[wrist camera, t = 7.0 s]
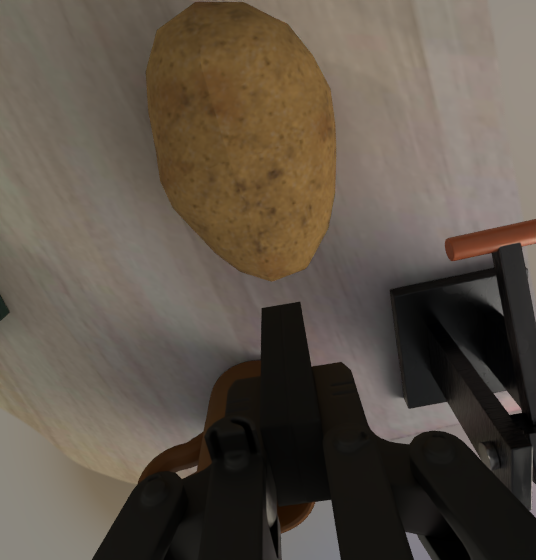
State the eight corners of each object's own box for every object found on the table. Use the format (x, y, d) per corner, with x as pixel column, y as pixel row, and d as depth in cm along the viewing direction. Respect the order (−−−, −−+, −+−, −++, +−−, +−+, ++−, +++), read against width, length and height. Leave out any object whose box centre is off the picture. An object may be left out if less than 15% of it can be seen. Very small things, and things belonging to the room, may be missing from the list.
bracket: (389, 289, 31) (465, 411, 19) (518, 262, 30) (679, 372, 19) (404, 399, 35) (474, 555, 23) (518, 377, 34) (650, 528, 22)
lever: (438, 238, 23) (455, 237, 21) (544, 215, 23) (573, 212, 20) (484, 469, 24) (504, 493, 22) (587, 451, 24) (620, 474, 21)
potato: (214, 267, 30) (198, 324, 23) (131, 47, 25) (76, 30, 17) (352, 228, 29) (381, 275, 22) (297, -11, 24) (312, -55, 16)
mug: (176, 450, 37) (148, 560, 28) (144, 378, 34) (103, 477, 25) (314, 423, 36) (330, 529, 27) (294, 346, 33) (305, 438, 24)
